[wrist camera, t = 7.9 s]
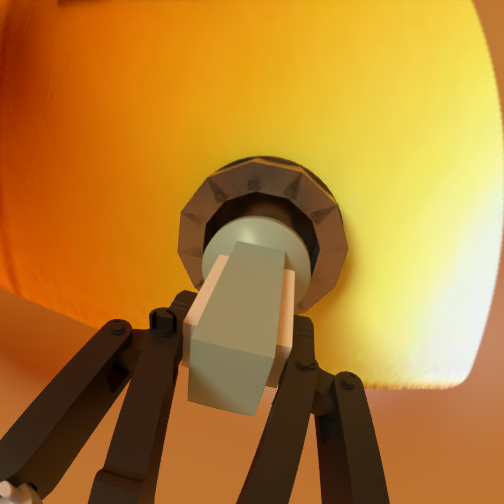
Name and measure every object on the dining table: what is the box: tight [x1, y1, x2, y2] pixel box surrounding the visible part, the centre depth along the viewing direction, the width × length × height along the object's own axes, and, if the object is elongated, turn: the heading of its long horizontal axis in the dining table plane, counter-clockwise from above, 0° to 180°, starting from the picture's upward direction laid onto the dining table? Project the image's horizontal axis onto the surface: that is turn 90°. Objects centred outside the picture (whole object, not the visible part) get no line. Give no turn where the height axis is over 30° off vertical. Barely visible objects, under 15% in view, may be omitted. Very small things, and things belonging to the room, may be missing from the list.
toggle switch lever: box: [188, 215, 311, 416], centre depth 15 cm, size 7×7×10 cm
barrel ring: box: [178, 156, 348, 315], centre depth 23 cm, size 13×13×3 cm
